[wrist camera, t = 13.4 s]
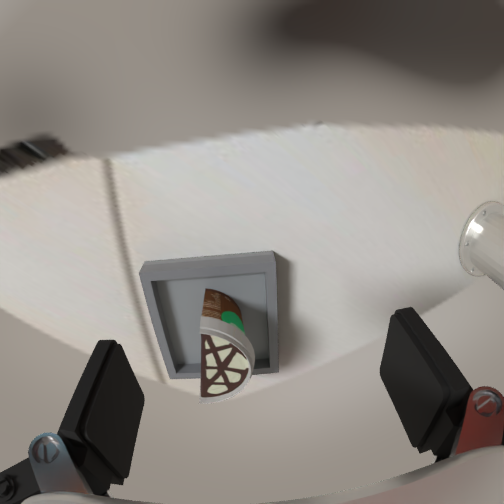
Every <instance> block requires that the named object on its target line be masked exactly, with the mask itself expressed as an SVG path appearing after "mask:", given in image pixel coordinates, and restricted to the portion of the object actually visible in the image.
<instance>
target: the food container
mask: <svg viewBox="0 0 504 504" xmlns="http://www.w3.org/2000/svg"><path fill="white" fill-rule="evenodd" d="M199 333H201V386H200V401H199V403H215V402H220V401H224V400H227V399H229V398H231V397H233V396H235V395H237V394H238V393H239V392H241V391H242V390H243V389H244V388H245V386H246V385H247V383H248V382H249V380H250V378H251V376H252V372H253V368H254V363H255V353H254V349H253V347H252V344H251V343H250V341H249V340H248V338H247V337H246V336H245V331H244V326H243V320H242V315H241V311H240V309H239V307H238V305H237V303H236V302H235V301H234V300H233V299H232V298H230V297H229V296H228V295H226V294H224V293H222V292H220V291H217V290H213V289H207V288H205V294H204V301H203V309H202V316H201V320H200V332H199Z"/></svg>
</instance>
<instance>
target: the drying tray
mask: <svg viewBox="0 0 504 504" xmlns="http://www.w3.org/2000/svg"><path fill="white" fill-rule="evenodd" d="M139 275H140V279H141V283H142V287H143V291H144V295H145V299H146V302H147V306H148V310H149V313H150V317H151V320H152V324H153V327H154V330H155V334H156V337H157V340H158V344H159V347H160V350H161V353H162V356H163V359H164V362H165V365H166V368H167V371H168V374H169V377H170V379H193V378H201V333H199V332H200V320H201V316H202V309H203V301H204V294H205V288H207V289H213V290H217V291H220V292H222V293H224V294H226V295H228V296H229V297H230V298H232V299H233V300H234V301H235V302H236V303H237V305H238V307H239V309H240V311H241V315H242V320H243V326H244V331H245V336H246V337H247V338H248V340H249V341H250V343H251V344H252V347H253V349H254V353H255V363H254V368H253V372H252V375H257V374H268V373H277V372H279V364H278V316H277V281H276V260H275V257H274V254H273V251H263V252H252V253H240V254H228V255H216V256H204V257H193V258H181V259H169V260H157V261H145V262H144V264H143V266H142V268H141V270H140V272H139Z"/></svg>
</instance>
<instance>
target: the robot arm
mask: <svg viewBox="0 0 504 504" xmlns="http://www.w3.org/2000/svg"><path fill="white" fill-rule="evenodd" d="M459 254H460V261H461V264H462V266H463V268H464V269H465V270H466V271H467V272H468V273H469V274H471V275H473V276H483V275H485V274H486V275H487V276H488V277H489V278H491V279H492V280H493V281H494V282H496V284H498V285H499V286H500V287H501V288H502V289H503V290H504V205H502V204H500V203H498V202H487V203H485V204H483V205H481V206H480V207H479V208H478V209H477V210H476V211H475V212H474V213H473V214H472V215H471V217H470V219H469V220H468V222H467V224H466V226H465V228H464V231H463V233H462V236H461V241H460V249H459ZM380 376H381V379H382V381H383V383H384V385H385V387H386V389H387V391H388V394H389V396H390V398H391V400H392V402H393V404H394V406H395V409H396V411H397V413H398V415H399V417H400V419H401V422H402V424H403V426H404V429H405V431H406V433H407V435H408V438H409V440H410V442H411V444H412V446H413V447H417V449H418V451H419V453H423V452H426V451H428V450H432V452H433V454H434V458H433V461H432V463H431V465H429V466H426V467H423V468H420V469H417V470H414V471H412V472H409V473H406V474H403V475H400V476H396V477H393V478H390V479H387V480H383V481H380V482H376V483H373V484H369V485H366V486H361V487H357V488H354V489H349V490H345V491H340V492H335V493H331V494H325V495H320V496H315V497H309V498H303V499H295V500H288V501H280V502H270V503H260V504H504V397H503V395H502V394H501V393H500V392H499V391H498V390H496V389H495V388H492V387H488V386H482V387H478V388H476V389H474V390H473V389H472V387H471V386H470V385H469V383H468V382H467V380H466V379H465V377H464V376H463V374H462V373H461V372H460V370H459V369H458V367H457V366H456V364H455V363H454V362H453V360H452V359H451V357H450V356H449V354H448V353H447V352H446V350H445V349H444V348H443V346H442V345H441V344H440V342H439V341H438V340H437V339H436V338H435V336H434V335H433V333H432V332H431V331H430V329H429V328H428V327H427V325H426V324H425V323H424V321H423V320H422V319H421V318H420V316H419V315H418V314H417V312H416V311H415V310H414V309H413V308H412V307H408V308H403V309H398V310H396V311H395V314H394V315H392V316H391V318H390V323H389V328H388V334H387V339H386V343H385V349H384V353H383V357H382V361H381V366H380ZM143 406H144V394H143V392H142V390H141V388H140V386H139V383H138V381H137V379H136V377H135V375H134V373H133V371H132V368H131V366H130V364H129V362H128V359H127V357H126V355H125V353H124V350H123V348H122V346H121V345H120V344H117V342H116V341H115V340H99V341H98V343H97V344H96V346H95V349H94V351H93V353H92V355H91V357H90V359H89V361H88V363H87V366H86V368H85V370H84V372H83V374H82V376H81V378H80V381H79V383H78V385H77V388H76V390H75V392H74V394H73V397H72V399H71V401H70V404H69V406H68V408H67V411H66V413H65V416H64V418H63V421H62V423H61V425H60V428H59V431H58V433H57V434H54V433H51V432H50V433H43V434H40V435H38V436H37V437H36V438H34V440H33V441H32V442H31V444H30V446H29V450H28V455H29V458H27V459H25V460H23V461H21V462H20V463H18V464H16V465H14V466H12V467H10V468H8V469H6V470H4V471H3V472H1V473H0V504H161V503H150V502H141V501H132V500H124V499H117V498H114V497H113V495H112V494H111V492H110V491H109V488H110V484H111V483H112V484H119V485H123V482H124V478H127V477H128V476H129V471H130V466H131V461H132V456H133V451H134V446H135V442H136V437H137V432H138V428H139V424H140V419H141V415H142V410H143Z"/></svg>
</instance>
